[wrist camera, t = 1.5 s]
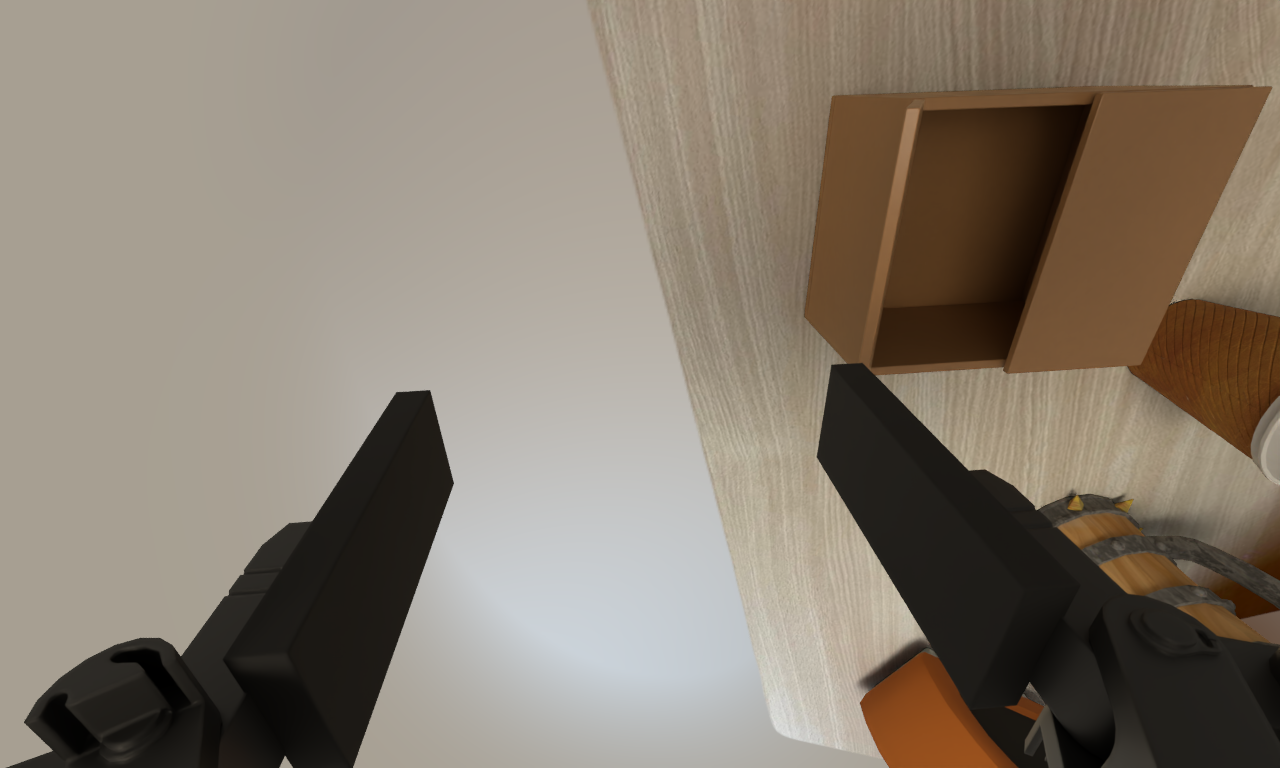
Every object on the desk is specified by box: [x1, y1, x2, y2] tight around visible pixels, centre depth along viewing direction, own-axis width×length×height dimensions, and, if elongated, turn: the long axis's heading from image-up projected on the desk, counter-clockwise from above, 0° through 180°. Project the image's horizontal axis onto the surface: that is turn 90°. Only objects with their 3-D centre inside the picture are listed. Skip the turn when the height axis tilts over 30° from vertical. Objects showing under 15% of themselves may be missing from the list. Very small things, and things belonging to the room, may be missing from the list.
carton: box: [804, 85, 1272, 375], centre depth 29 cm, size 13×15×9 cm
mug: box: [1039, 494, 1280, 647], centre depth 39 cm, size 13×17×20 cm
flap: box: [858, 100, 925, 371], centre depth 22 cm, size 13×7×1 cm
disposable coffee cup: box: [1128, 299, 1280, 485], centre depth 34 cm, size 10×10×12 cm
